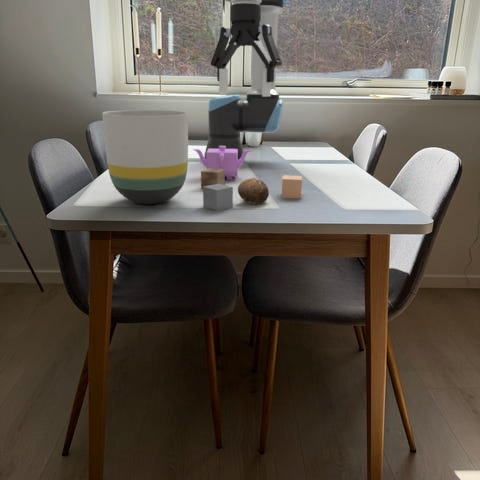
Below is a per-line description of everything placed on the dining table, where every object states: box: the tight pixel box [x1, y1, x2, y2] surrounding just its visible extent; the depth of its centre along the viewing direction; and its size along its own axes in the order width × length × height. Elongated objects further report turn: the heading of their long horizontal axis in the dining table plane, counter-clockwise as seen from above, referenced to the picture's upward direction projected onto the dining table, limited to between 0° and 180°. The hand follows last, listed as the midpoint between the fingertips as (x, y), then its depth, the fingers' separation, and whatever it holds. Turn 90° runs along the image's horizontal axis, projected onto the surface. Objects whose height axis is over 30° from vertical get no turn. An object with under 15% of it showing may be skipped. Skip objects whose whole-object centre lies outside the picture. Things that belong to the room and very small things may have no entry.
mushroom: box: [237, 177, 270, 206], centre depth 115 cm, size 8×8×6 cm
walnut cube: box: [200, 168, 226, 190], centre depth 129 cm, size 5×5×5 cm
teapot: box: [192, 146, 252, 181], centre depth 142 cm, size 18×13×10 cm
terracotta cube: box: [281, 174, 303, 199], centre depth 122 cm, size 5×5×5 cm
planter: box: [101, 109, 189, 205], centre depth 111 cm, size 20×20×21 cm
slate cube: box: [202, 184, 234, 212], centre depth 110 cm, size 5×5×5 cm
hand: (244, 95), depth 119 cm, fingers open, 13 cm apart
